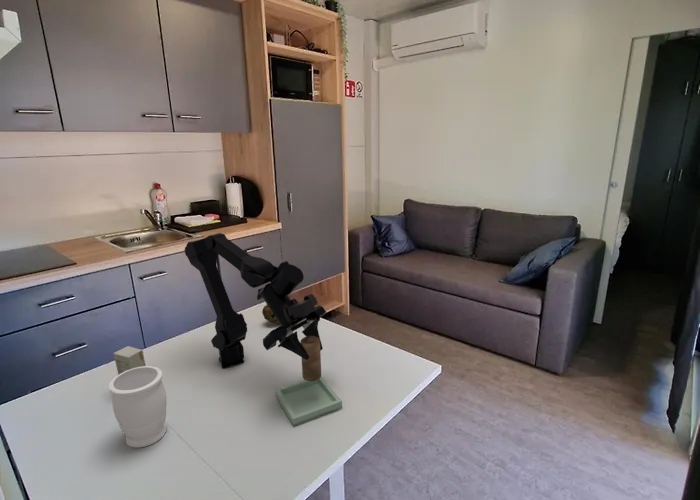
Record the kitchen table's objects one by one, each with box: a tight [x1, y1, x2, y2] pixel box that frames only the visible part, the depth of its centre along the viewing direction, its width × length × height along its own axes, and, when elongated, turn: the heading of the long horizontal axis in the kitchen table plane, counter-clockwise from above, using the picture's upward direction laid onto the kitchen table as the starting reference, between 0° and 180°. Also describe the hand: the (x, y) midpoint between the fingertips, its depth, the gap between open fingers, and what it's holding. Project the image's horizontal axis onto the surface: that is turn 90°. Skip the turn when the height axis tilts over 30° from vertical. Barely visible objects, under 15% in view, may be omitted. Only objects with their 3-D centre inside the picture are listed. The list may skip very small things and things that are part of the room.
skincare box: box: [113, 345, 147, 375], centre depth 103 cm, size 6×4×12 cm
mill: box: [300, 336, 322, 381], centre depth 97 cm, size 5×5×11 cm
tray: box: [275, 375, 343, 427], centre depth 99 cm, size 13×13×2 cm
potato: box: [261, 304, 280, 324], centre depth 143 cm, size 8×13×8 cm, turn 108°
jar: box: [108, 365, 167, 448], centre depth 87 cm, size 11×10×15 cm
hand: (314, 354), depth 96 cm, fingers closed on mill, 5 cm apart
